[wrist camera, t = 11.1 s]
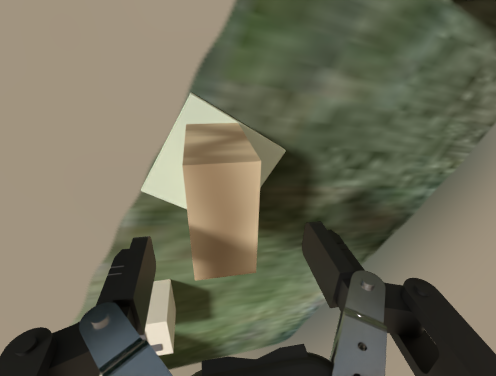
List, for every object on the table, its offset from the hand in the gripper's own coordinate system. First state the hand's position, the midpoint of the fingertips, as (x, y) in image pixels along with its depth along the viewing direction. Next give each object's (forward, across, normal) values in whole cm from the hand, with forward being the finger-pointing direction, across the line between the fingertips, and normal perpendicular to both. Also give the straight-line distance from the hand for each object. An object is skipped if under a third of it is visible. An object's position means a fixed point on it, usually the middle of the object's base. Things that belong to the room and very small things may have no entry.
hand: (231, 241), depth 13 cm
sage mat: (+10, 0, 0) cm, 10 cm away
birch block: (+10, 0, 0) cm, 10 cm away
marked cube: (+10, +8, +16) cm, 20 cm away
